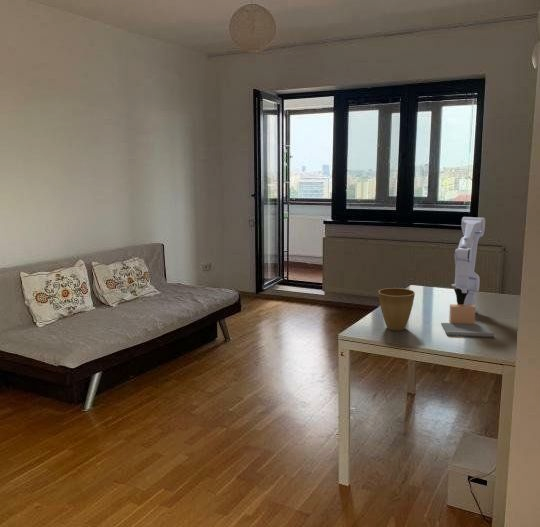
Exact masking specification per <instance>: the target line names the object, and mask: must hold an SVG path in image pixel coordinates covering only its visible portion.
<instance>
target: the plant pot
mask: <svg viewBox="0 0 540 527" xmlns="http://www.w3.org/2000/svg"><path fill="white" fill-rule="evenodd" d="M415 294H416V292H415V291H414V290H412V289H409V288H401V287H391V288H390V287H387V288H383V289H380V290H378V299H379V304H380V309H381V313H382V314H381V315H382V317H383V320H384V323H385V326H386V328H387V329H388V330H390V331H395V332H396V331H403V330H405V329H406V327H407V325H408V322H409V319H410V316H411V313H412V308H413V305H414V300H415Z"/></svg>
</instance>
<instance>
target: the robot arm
mask: <svg viewBox="0 0 540 527" xmlns="http://www.w3.org/2000/svg"><path fill="white" fill-rule="evenodd" d="M460 226H461V231H462V235H463V236H462V237H461V238H460V240H459V243H458V247H457V248H455V250H454V265H455V274H454V283H452V284H451V287H453V288H454V289H453V291H454V292H455V296H456V303H457V304H456V305H474V306H475V307H476V293H478V292H479V291H480V284H481V283H480V281H481V280H480V279H481V278H480V275H478V274H477V272H475V268H476V260H477V252H478V251H477V250H478V243H479V240H480V238H481V237H484V234H485V229H486V228H485V227H486V218H485V217H473V216H463V217H462V218H461V225H460ZM476 313H478V312H477V310H475V314H476Z"/></svg>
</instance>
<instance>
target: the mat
mask: <svg viewBox="0 0 540 527" xmlns="http://www.w3.org/2000/svg"><path fill="white" fill-rule="evenodd" d="M440 325H441V327H442V329H443V331H444V332H445V335H446V336H447V337H467V338H468V337H469V338H470V337H471V338H492V339H493V338H495V332H494V331H493V332H491V330H490V329H489V328H488V327H487V325H486V324H485V323H475V324H464V323H449V322H441V323H440Z"/></svg>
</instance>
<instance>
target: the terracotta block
mask: <svg viewBox="0 0 540 527" xmlns="http://www.w3.org/2000/svg"><path fill="white" fill-rule="evenodd" d="M475 310H476V305H475V306H474V305H458V304H454V303H453V304H451V303H450V304H449V316H448V317H449V318H448V323H464V324H476V322H475V321H476V313H475ZM476 311H477V310H476Z"/></svg>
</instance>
